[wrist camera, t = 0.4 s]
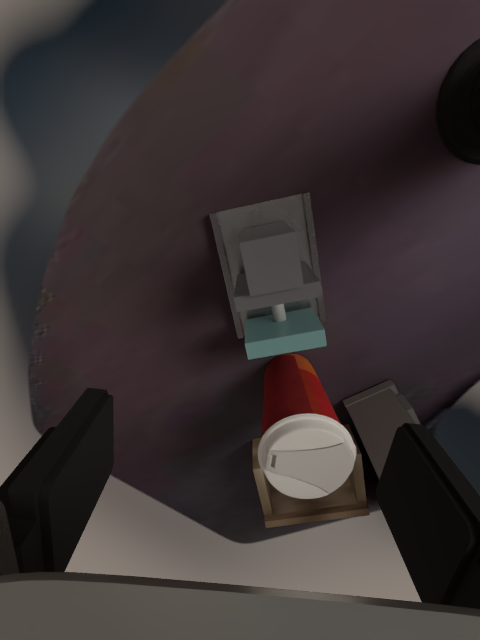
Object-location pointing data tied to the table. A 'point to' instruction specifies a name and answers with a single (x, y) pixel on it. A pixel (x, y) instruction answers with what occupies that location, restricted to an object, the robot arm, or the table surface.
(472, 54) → the handle grip
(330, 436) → the paper cup
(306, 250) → the track
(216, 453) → the table surface
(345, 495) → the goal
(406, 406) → the cassette tape recorder
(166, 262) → the table surface
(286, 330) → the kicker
